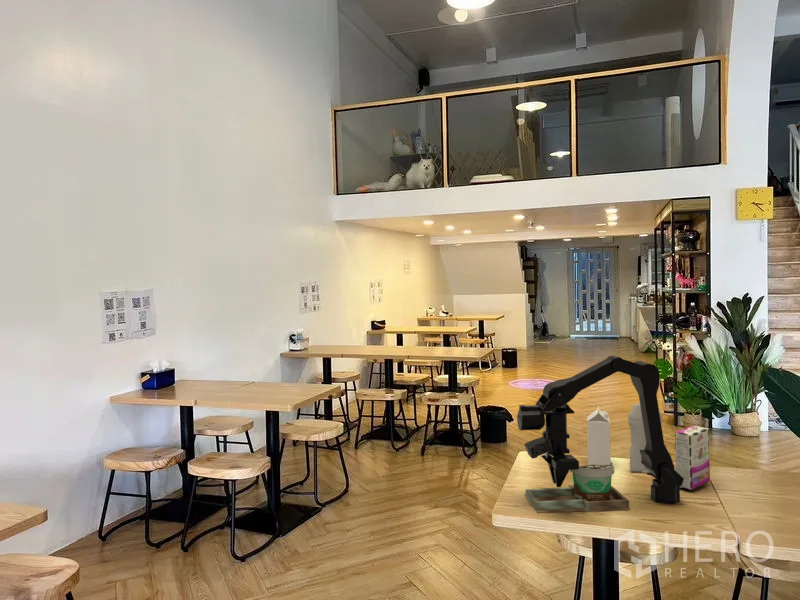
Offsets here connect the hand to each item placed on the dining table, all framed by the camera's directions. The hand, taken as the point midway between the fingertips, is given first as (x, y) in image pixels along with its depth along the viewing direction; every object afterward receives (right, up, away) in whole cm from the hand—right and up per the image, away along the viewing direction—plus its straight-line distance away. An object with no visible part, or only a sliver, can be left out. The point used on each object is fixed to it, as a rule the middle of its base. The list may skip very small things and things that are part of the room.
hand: (556, 485), depth 159 cm
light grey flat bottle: (+35, -4, +25) cm, 43 cm away
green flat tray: (+5, -5, 0) cm, 7 cm away
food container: (+11, -5, -1) cm, 12 cm away
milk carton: (+23, -4, +33) cm, 40 cm away
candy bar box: (+44, -4, +13) cm, 46 cm away
